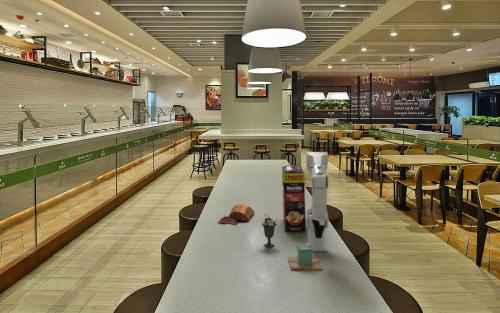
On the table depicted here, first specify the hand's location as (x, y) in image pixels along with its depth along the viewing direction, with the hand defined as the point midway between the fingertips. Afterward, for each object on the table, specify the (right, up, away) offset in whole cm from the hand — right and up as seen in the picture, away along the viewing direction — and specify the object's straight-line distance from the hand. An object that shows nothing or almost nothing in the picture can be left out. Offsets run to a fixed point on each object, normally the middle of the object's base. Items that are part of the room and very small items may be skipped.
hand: (318, 237), depth 150 cm
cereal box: (-4, -5, +53) cm, 53 cm away
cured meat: (-36, -4, +65) cm, 75 cm away
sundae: (-19, -8, +20) cm, 29 cm away
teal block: (-6, -9, -2) cm, 11 cm away
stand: (-6, -10, -2) cm, 12 cm away
